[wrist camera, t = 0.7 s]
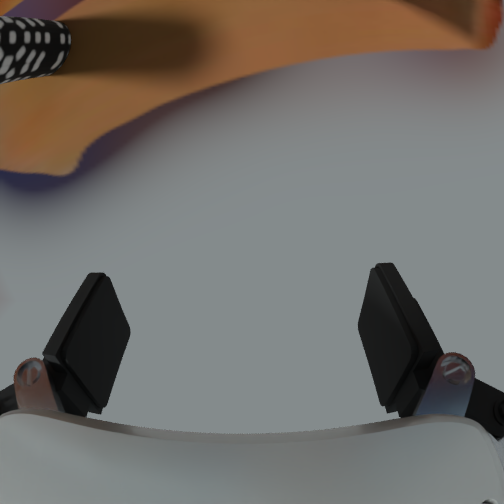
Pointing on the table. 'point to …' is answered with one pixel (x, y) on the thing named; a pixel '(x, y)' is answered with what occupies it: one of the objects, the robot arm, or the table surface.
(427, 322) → the robot arm
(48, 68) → the spotted tube
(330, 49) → the table surface
